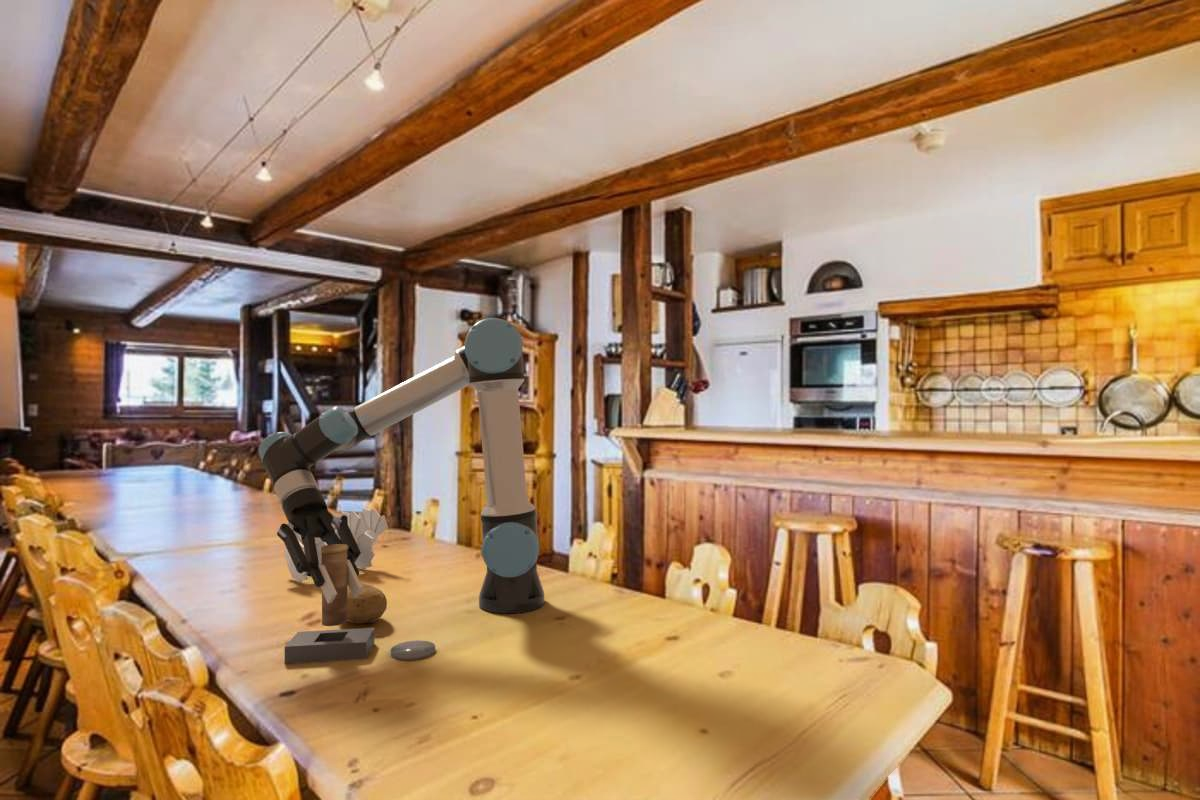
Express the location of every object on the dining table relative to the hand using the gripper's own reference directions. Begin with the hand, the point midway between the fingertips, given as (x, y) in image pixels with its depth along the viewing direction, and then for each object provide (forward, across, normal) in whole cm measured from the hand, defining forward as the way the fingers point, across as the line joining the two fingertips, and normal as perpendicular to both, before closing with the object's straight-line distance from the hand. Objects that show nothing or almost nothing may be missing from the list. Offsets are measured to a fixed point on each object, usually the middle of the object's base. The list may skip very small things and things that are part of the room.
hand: (345, 595), depth 120 cm
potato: (-3, -13, -20) cm, 24 cm away
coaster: (+13, -9, -3) cm, 16 cm away
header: (+5, 0, -11) cm, 12 cm away
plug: (+1, 0, -7) cm, 7 cm away
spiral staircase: (-34, -30, -50) cm, 67 cm away
